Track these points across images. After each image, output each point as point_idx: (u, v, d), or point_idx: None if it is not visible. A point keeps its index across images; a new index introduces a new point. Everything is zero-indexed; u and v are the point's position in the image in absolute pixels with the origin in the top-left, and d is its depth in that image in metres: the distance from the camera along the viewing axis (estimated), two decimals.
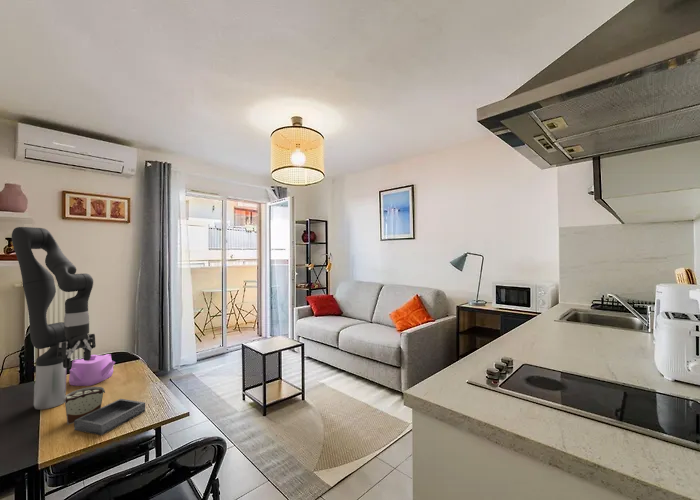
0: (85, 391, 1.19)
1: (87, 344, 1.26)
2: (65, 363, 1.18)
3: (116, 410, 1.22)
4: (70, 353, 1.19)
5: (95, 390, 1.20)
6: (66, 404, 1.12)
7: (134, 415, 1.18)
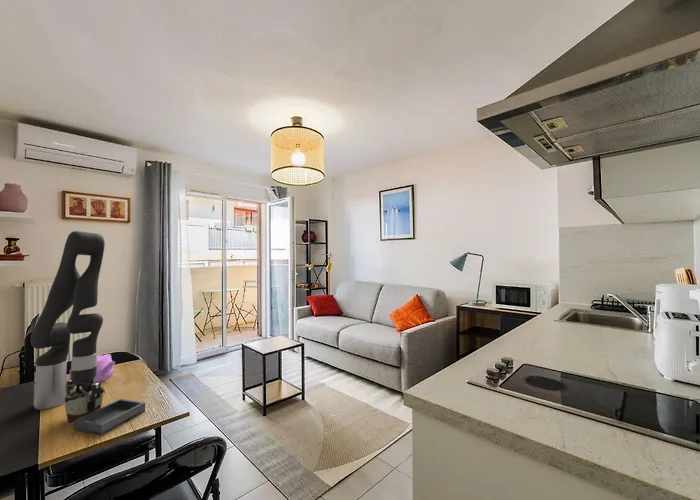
0: None
1: None
2: (93, 405, 1.17)
3: (116, 410, 1.22)
4: None
5: None
6: (66, 404, 1.12)
7: (134, 415, 1.18)
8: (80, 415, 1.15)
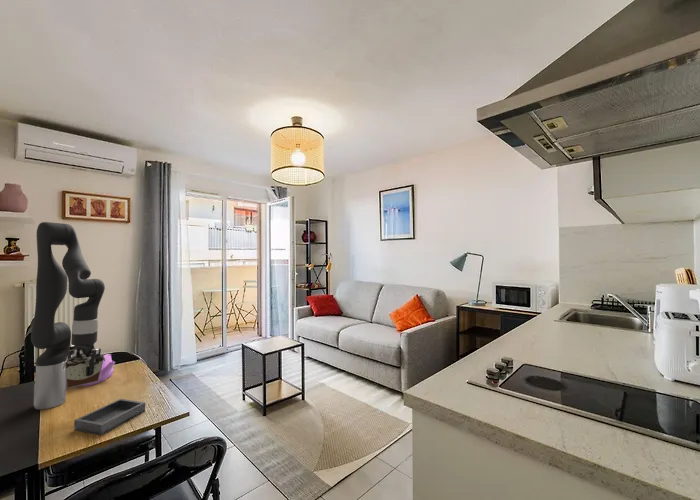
0: None
1: None
2: (92, 370, 1.17)
3: (116, 410, 1.22)
4: None
5: None
6: (66, 369, 1.13)
7: (134, 415, 1.18)
8: (79, 380, 1.16)
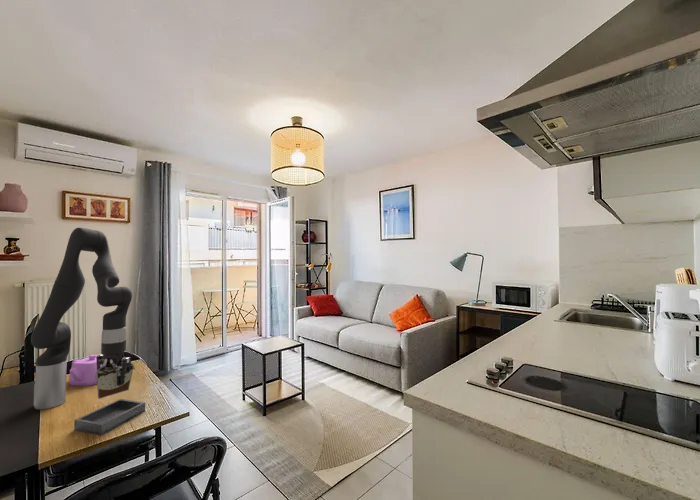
0: None
1: None
2: (123, 379, 1.16)
3: (116, 410, 1.22)
4: None
5: None
6: (98, 379, 1.11)
7: (134, 415, 1.18)
8: (110, 390, 1.15)
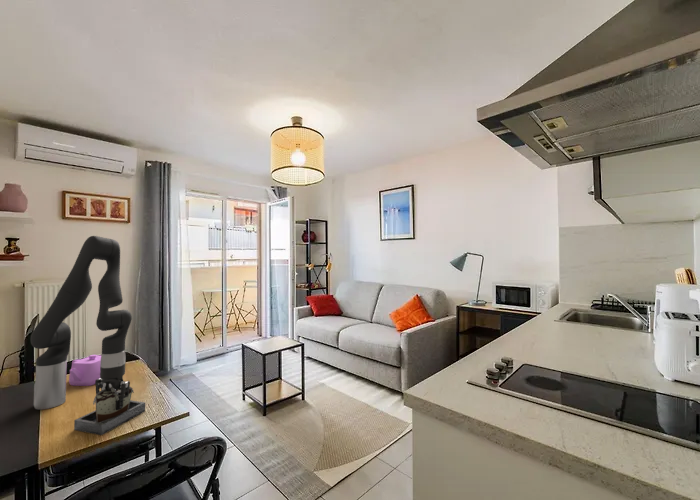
0: None
1: None
2: (122, 403, 1.15)
3: None
4: None
5: None
6: (97, 404, 1.10)
7: (134, 415, 1.18)
8: (109, 414, 1.14)
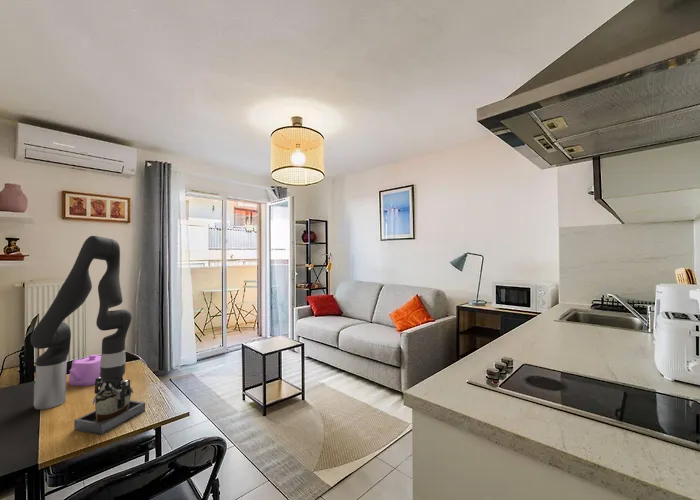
0: None
1: None
2: (123, 402, 1.15)
3: None
4: None
5: None
6: (96, 405, 1.11)
7: (134, 415, 1.18)
8: (109, 415, 1.14)
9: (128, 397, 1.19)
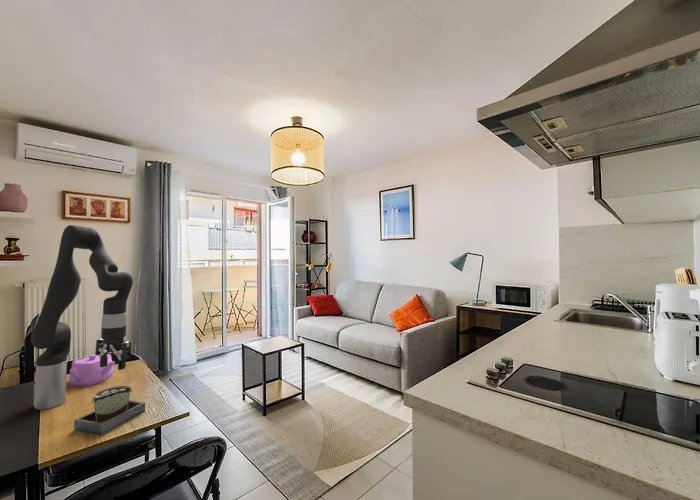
0: (112, 390, 1.18)
1: None
2: (124, 364, 1.15)
3: None
4: None
5: (122, 389, 1.20)
6: (95, 403, 1.11)
7: (134, 415, 1.18)
8: (108, 414, 1.15)
9: (127, 396, 1.19)
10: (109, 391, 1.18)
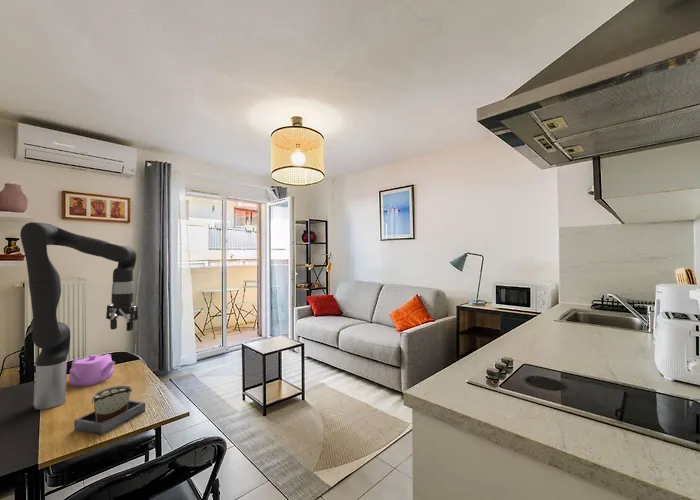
0: (112, 390, 1.18)
1: None
2: (132, 325, 1.31)
3: None
4: None
5: (122, 389, 1.20)
6: (95, 403, 1.11)
7: (134, 415, 1.18)
8: (108, 414, 1.15)
9: (127, 396, 1.19)
10: (109, 391, 1.18)
